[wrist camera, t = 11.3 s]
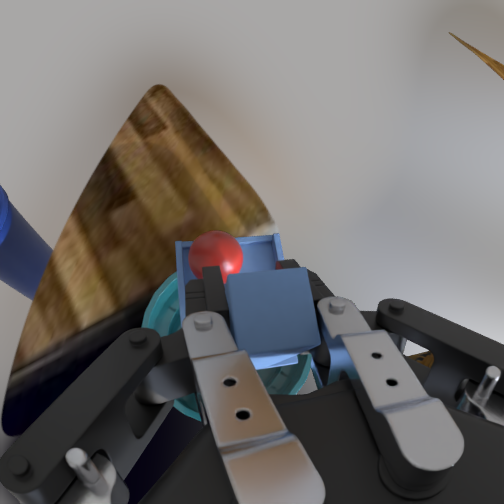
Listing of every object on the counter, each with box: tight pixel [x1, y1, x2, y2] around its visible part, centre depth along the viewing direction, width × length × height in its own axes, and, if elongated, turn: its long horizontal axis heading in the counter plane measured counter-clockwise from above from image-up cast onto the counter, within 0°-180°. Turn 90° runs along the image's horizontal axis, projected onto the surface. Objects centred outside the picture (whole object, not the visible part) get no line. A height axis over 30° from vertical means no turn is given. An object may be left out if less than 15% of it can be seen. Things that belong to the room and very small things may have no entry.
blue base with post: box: [175, 233, 321, 370], centre depth 15 cm, size 8×7×11 cm
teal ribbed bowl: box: [141, 271, 312, 421], centre depth 30 cm, size 15×15×6 cm
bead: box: [188, 230, 243, 284], centre depth 19 cm, size 3×3×3 cm
